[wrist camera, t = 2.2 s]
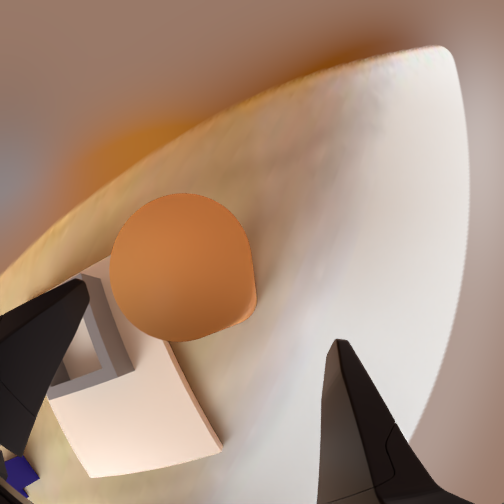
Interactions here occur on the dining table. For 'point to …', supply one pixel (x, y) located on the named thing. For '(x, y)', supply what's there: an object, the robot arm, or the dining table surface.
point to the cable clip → (20, 474)
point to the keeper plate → (125, 393)
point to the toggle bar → (183, 269)
